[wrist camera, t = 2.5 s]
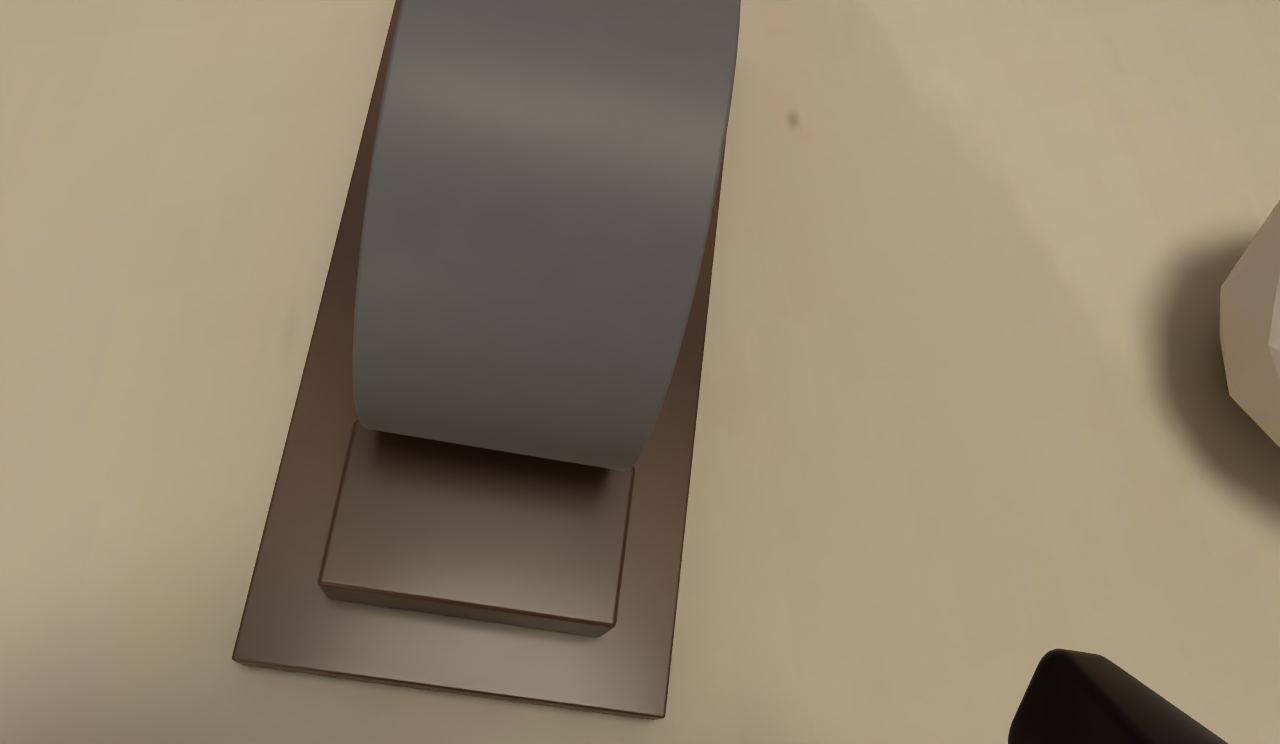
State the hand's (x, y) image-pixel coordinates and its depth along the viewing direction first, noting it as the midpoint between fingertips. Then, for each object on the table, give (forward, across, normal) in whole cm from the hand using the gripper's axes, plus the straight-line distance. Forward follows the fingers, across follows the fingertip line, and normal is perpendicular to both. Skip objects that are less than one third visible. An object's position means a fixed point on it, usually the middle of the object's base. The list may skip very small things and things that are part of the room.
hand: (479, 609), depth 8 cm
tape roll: (+14, 0, +3) cm, 15 cm away
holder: (+15, 0, +4) cm, 16 cm away
